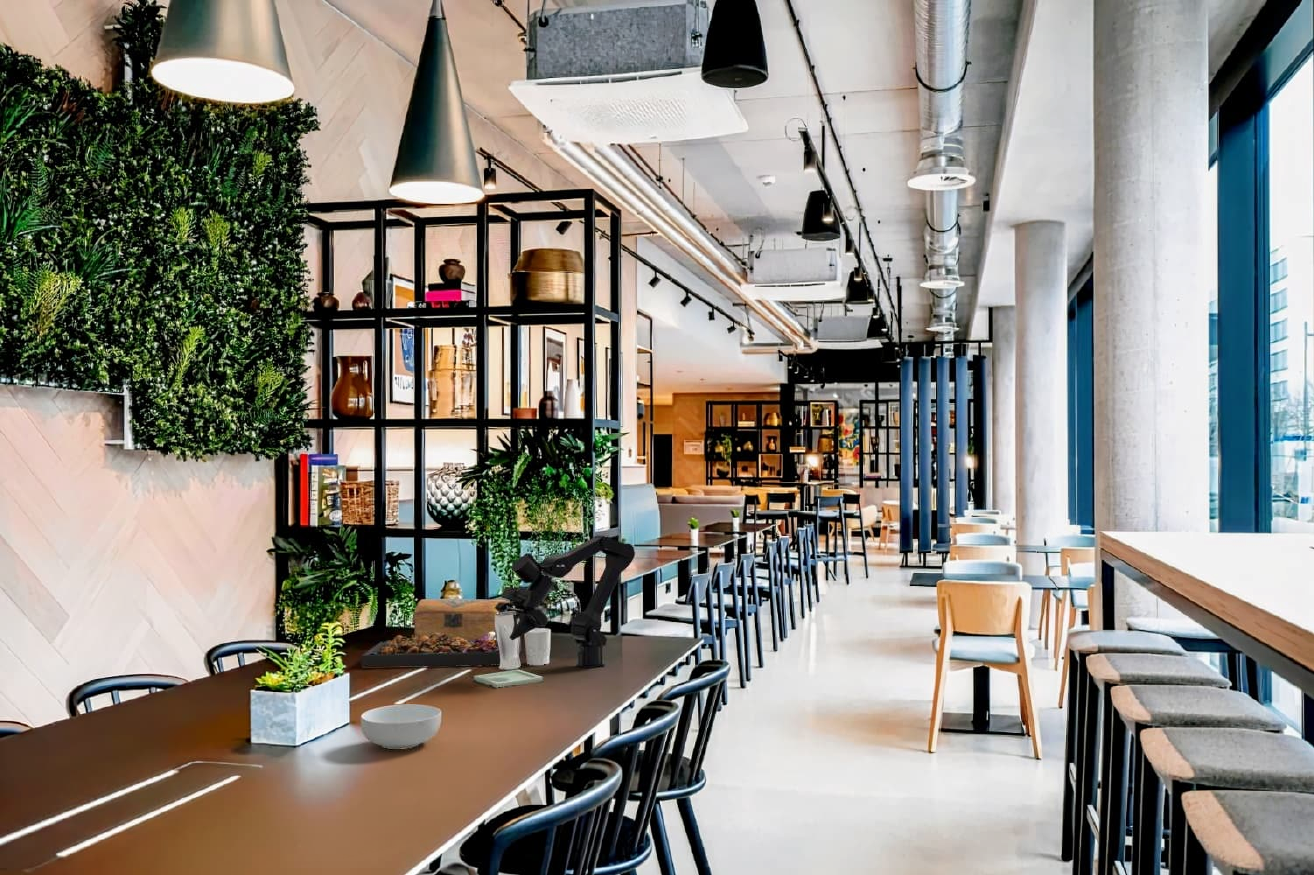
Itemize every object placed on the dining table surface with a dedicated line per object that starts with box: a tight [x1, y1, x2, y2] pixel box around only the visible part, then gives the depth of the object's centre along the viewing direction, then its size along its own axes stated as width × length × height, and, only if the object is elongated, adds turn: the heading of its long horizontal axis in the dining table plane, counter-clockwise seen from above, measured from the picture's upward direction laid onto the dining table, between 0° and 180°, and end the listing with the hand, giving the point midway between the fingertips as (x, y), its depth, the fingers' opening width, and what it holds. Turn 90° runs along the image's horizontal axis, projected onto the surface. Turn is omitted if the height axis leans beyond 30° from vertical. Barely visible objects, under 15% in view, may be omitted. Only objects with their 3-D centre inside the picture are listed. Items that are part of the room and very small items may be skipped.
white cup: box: [524, 627, 552, 666], centre depth 323 cm, size 8×8×10 cm
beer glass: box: [495, 611, 522, 670], centre depth 298 cm, size 7×7×15 cm
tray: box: [473, 668, 544, 689], centre depth 298 cm, size 14×14×1 cm
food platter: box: [360, 632, 522, 667], centre depth 333 cm, size 45×25×10 cm, turn 91°
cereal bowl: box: [360, 703, 442, 749], centre depth 231 cm, size 17×17×7 cm
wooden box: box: [413, 598, 508, 640], centre depth 371 cm, size 30×16×14 cm, turn 80°
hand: (504, 637), depth 297 cm, fingers closed on beer glass, 7 cm apart
